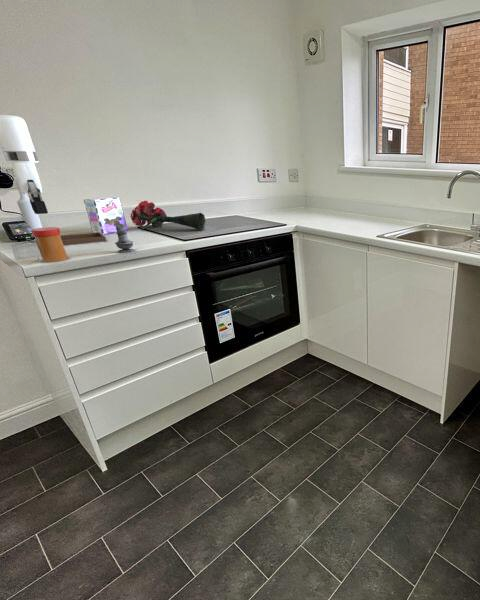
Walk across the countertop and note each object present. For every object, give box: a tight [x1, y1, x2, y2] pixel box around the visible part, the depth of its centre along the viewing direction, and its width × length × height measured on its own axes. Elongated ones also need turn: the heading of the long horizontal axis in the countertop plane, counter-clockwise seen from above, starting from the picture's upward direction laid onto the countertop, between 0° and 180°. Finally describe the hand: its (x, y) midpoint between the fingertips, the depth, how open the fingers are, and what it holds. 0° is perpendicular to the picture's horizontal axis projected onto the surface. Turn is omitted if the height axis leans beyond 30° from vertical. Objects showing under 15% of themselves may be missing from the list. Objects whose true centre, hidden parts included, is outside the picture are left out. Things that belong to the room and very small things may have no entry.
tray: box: [60, 232, 107, 246], centre depth 154 cm, size 15×13×2 cm
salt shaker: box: [114, 222, 135, 254], centre depth 139 cm, size 6×6×12 cm
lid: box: [31, 226, 62, 236], centre depth 123 cm, size 7×7×2 cm
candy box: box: [83, 196, 128, 236], centre depth 171 cm, size 14×6×16 cm, turn 171°
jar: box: [34, 234, 69, 263], centre depth 124 cm, size 7×7×11 cm
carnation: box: [130, 200, 206, 231], centre depth 186 cm, size 16×18×35 cm
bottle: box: [14, 179, 43, 243], centre depth 148 cm, size 5×5×25 cm
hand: (40, 212), depth 120 cm, fingers open, 8 cm apart
